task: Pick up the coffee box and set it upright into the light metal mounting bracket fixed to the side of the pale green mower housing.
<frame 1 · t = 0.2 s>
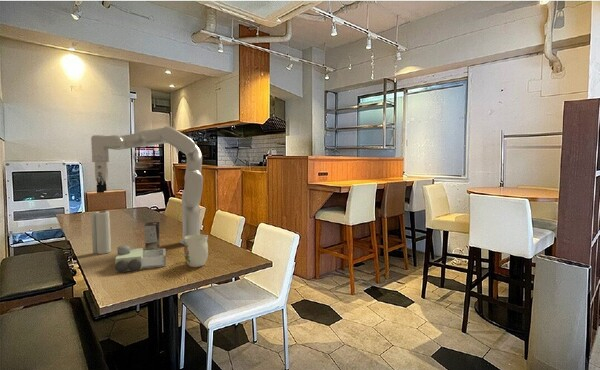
hand: (101, 191, 175), 31 cm above the table, tool pointing down, fingers open, 9 cm apart
coffee box: (153, 255, 170), on the table
mower housing: (130, 265, 152), on the table
grey tall block: (103, 252, 173), on the table
pitcher: (195, 264, 155), on the table
chute bracket: (154, 263, 156), on the table
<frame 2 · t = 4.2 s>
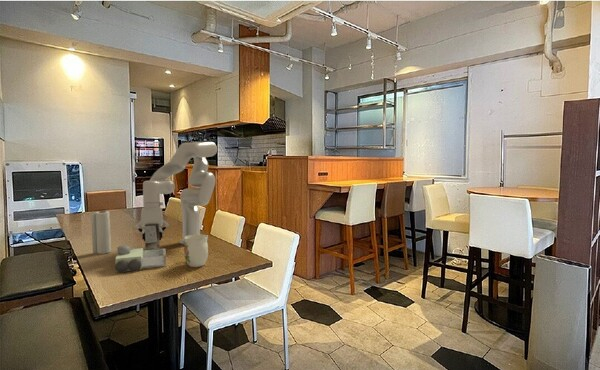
hand: (152, 239, 169), 8 cm above the table, tool pointing down, fingers closed on coffee box, 6 cm apart
coffee box: (153, 255, 170), on the table, touching gripper
everything else where it was.
when the fingers open (10 cm above the table, at t = 11.0 s): coffee box drops 1 cm, resting on chute bracket.
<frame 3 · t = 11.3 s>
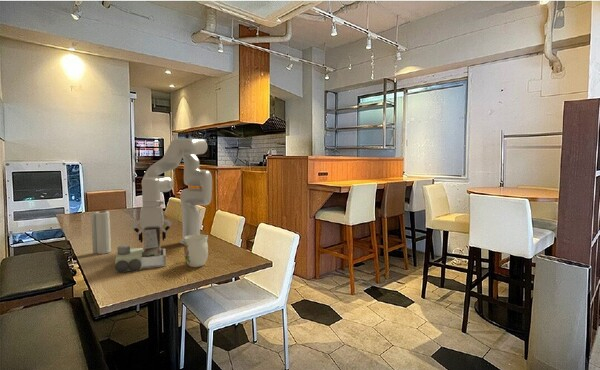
hand: (152, 240, 155), 11 cm above the table, tool pointing down, fingers open, 9 cm apart
coffee box: (153, 261, 156), point 1 cm above the table, touching chute bracket
everything else where it was.
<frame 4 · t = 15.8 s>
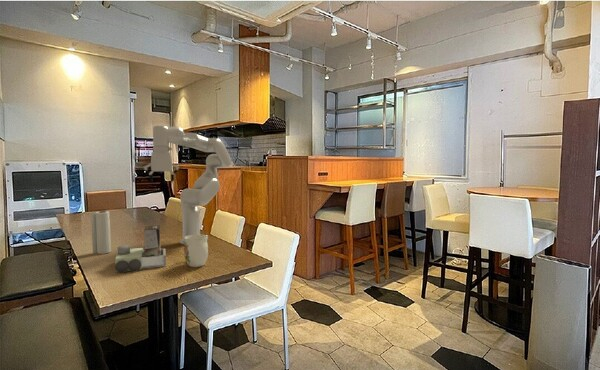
hand: (162, 182, 175), 36 cm above the table, tool pointing down, fingers open, 9 cm apart
nothing on the table moved.
at the end: coffee box 0.4 cm from the target spot, point 0.8 cm above the table; coffee box tilted 0°; the gripper is holding nothing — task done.
